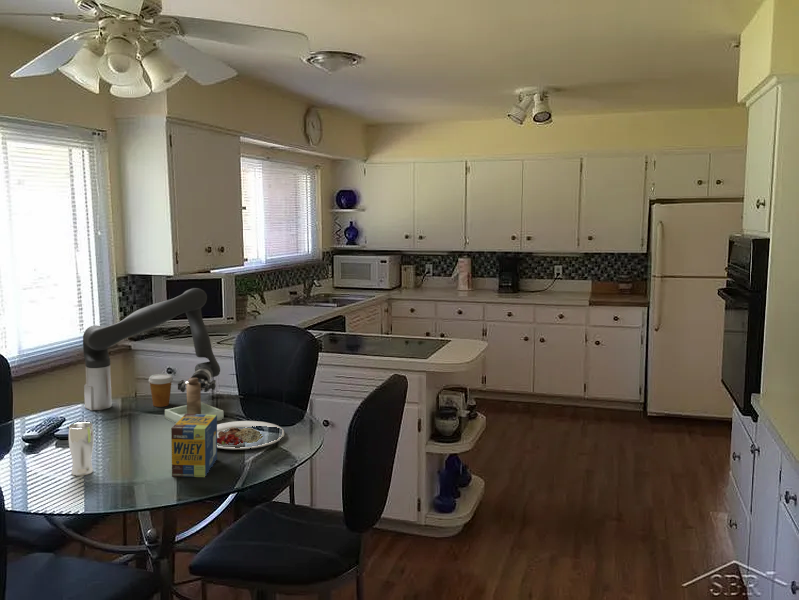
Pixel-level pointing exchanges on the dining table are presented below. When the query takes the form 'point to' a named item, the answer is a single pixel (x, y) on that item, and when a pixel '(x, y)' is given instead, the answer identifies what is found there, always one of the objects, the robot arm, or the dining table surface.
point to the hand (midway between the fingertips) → (194, 389)
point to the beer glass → (81, 447)
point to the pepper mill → (193, 396)
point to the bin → (179, 412)
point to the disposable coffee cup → (160, 389)
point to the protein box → (194, 445)
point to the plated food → (242, 433)
